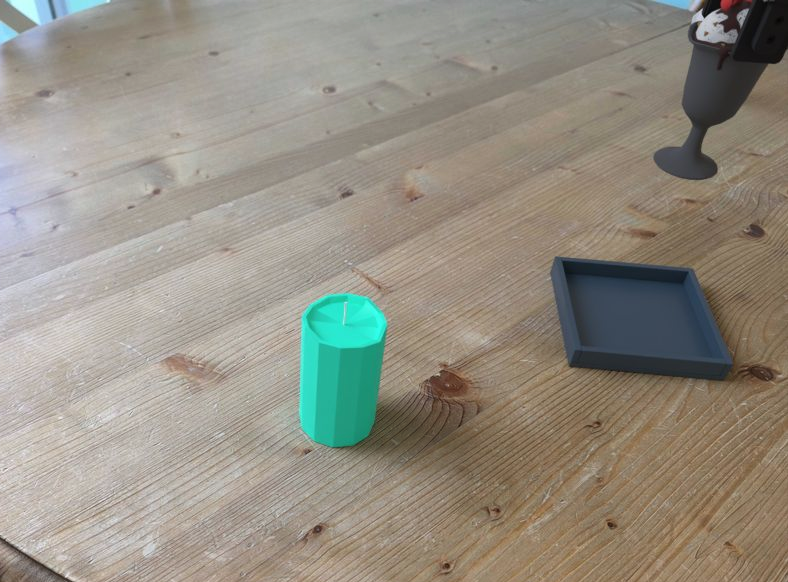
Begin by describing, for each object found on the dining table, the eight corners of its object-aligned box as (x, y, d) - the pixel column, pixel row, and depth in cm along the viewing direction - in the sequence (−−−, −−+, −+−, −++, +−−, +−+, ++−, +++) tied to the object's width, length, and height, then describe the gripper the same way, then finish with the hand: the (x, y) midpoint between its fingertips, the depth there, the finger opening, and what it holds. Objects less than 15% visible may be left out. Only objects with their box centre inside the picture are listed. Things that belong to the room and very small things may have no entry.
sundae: (627, 163, 60) (699, -39, 49) (664, 135, 63) (738, -60, 53) (707, 196, 57) (802, -12, 46) (741, 164, 60) (837, -36, 50)
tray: (685, 284, 73) (693, 268, 72) (724, 380, 64) (734, 364, 63) (550, 272, 74) (555, 256, 73) (568, 366, 65) (574, 349, 63)
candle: (316, 457, 56) (323, 341, 48) (287, 401, 60) (288, 286, 52) (387, 434, 58) (405, 319, 50) (354, 382, 62) (366, 267, 54)
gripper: (1041, -274, 34) (840, 98, 47) (878, -300, 47) (753, -1, 59) (872, -283, 35) (717, 89, 47) (754, -306, 47) (656, -7, 59)
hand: (738, 37), depth 53 cm, fingers closed on sundae, 6 cm apart
